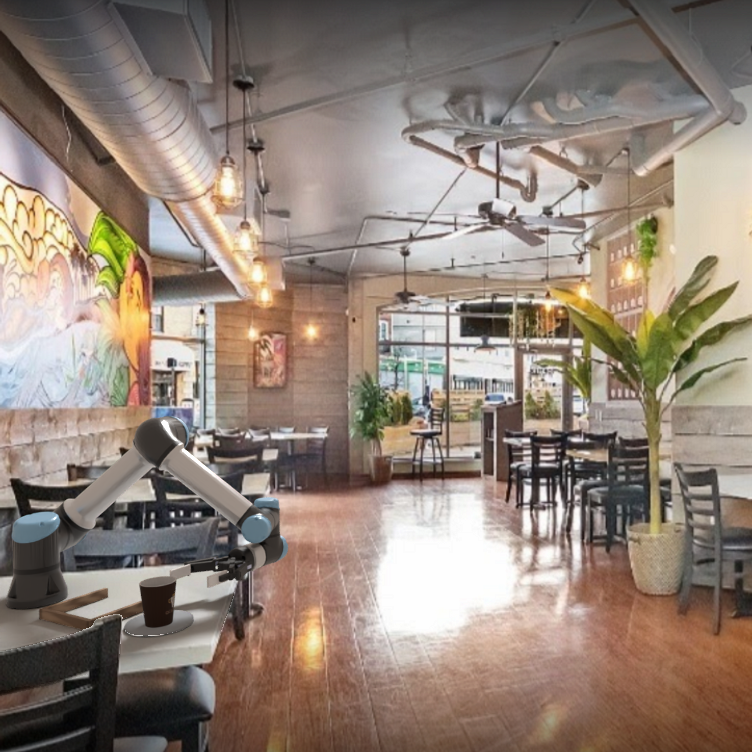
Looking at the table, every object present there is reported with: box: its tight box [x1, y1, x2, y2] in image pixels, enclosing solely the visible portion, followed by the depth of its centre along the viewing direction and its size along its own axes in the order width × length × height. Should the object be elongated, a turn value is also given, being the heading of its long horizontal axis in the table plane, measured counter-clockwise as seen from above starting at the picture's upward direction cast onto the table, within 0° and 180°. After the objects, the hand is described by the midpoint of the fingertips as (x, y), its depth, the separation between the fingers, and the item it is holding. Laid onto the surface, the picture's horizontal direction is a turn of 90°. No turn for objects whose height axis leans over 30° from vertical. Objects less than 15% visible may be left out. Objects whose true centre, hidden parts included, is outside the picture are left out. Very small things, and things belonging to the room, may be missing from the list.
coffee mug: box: [138, 575, 178, 628], centre depth 156 cm, size 12×9×10 cm
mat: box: [123, 609, 195, 636], centre depth 156 cm, size 16×16×1 cm
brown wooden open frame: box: [38, 587, 143, 631], centre depth 166 cm, size 19×20×2 cm
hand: (188, 578), depth 164 cm, fingers open, 13 cm apart
